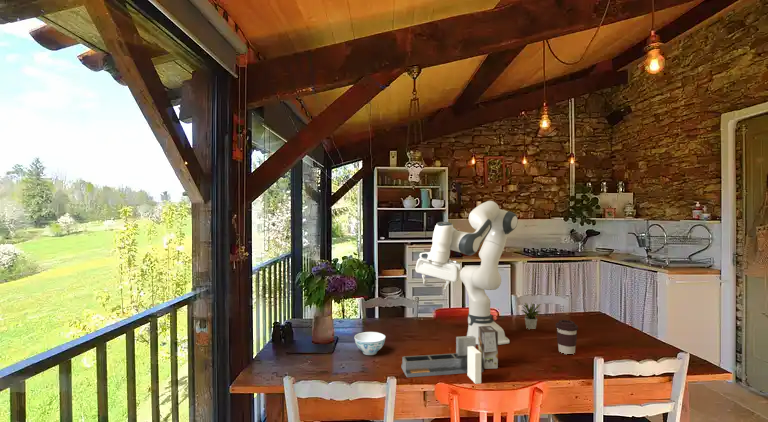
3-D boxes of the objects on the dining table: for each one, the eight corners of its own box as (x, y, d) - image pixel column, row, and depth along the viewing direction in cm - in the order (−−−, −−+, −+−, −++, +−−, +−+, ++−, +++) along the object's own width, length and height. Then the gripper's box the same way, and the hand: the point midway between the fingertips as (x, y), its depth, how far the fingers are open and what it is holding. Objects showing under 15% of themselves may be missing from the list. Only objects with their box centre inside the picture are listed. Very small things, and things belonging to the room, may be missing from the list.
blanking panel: (467, 375, 158) (467, 346, 158) (473, 374, 158) (473, 346, 159) (475, 383, 150) (475, 353, 150) (481, 383, 151) (481, 353, 151)
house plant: (513, 329, 222) (513, 301, 222) (518, 323, 233) (518, 297, 233) (539, 333, 214) (539, 304, 214) (543, 327, 226) (543, 299, 226)
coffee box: (498, 368, 165) (498, 331, 165) (484, 369, 164) (484, 332, 164) (490, 360, 174) (490, 325, 174) (477, 361, 173) (477, 325, 174)
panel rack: (473, 362, 171) (474, 332, 171) (483, 371, 161) (483, 340, 161) (401, 367, 165) (401, 336, 166) (406, 377, 156) (406, 344, 156)
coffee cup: (576, 350, 188) (576, 320, 188) (579, 357, 178) (579, 325, 179) (554, 347, 191) (554, 318, 191) (556, 354, 182) (556, 323, 182)
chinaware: (386, 358, 176) (386, 341, 176) (354, 359, 175) (354, 342, 175) (384, 346, 191) (384, 331, 191) (354, 347, 190) (354, 332, 190)
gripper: (463, 261, 170) (458, 291, 171) (421, 251, 180) (417, 280, 181) (459, 262, 165) (454, 293, 166) (416, 253, 174) (411, 282, 175)
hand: (434, 286), depth 173 cm, fingers open, 8 cm apart
